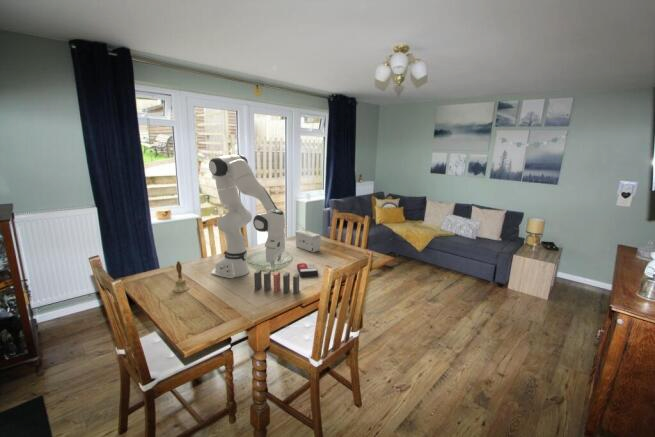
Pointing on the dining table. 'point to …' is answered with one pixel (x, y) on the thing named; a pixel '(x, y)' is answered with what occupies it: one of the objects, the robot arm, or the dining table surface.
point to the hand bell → (180, 280)
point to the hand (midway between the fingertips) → (276, 264)
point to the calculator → (307, 270)
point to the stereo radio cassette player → (308, 240)
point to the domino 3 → (276, 281)
